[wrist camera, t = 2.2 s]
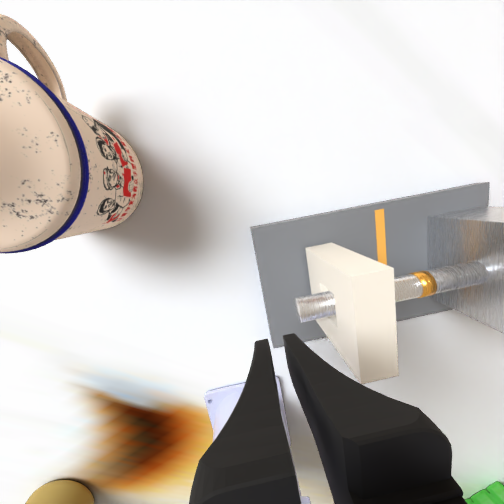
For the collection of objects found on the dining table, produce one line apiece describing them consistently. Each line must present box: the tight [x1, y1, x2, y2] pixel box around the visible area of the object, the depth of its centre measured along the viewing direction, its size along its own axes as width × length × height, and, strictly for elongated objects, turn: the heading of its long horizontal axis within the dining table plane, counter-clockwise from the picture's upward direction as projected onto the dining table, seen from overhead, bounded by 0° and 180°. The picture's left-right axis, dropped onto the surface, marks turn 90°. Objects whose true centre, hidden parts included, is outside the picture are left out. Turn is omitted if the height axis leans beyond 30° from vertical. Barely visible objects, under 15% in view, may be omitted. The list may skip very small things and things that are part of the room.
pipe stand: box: [294, 206, 504, 333], centre depth 17 cm, size 8×19×10 cm, turn 100°
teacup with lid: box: [0, 14, 143, 253], centre depth 13 cm, size 12×9×12 cm
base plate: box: [251, 182, 489, 348], centre depth 22 cm, size 12×22×1 cm, turn 100°
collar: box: [305, 243, 399, 384], centre depth 17 cm, size 7×2×8 cm, turn 10°
